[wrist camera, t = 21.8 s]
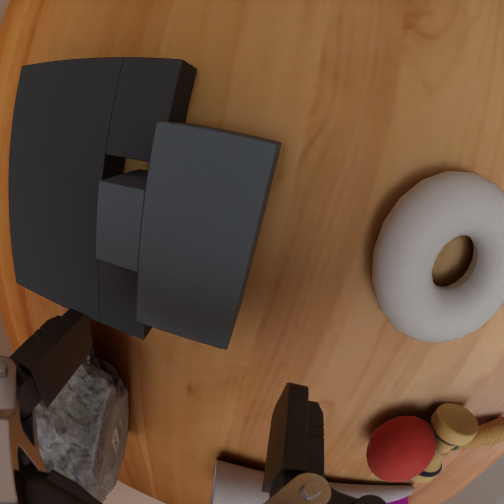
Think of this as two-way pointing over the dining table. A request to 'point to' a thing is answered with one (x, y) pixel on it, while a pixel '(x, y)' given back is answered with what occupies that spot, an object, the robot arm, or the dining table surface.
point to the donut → (427, 249)
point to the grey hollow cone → (251, 498)
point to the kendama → (426, 442)
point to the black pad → (83, 172)
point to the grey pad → (189, 226)
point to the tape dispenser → (400, 501)
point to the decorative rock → (86, 427)
